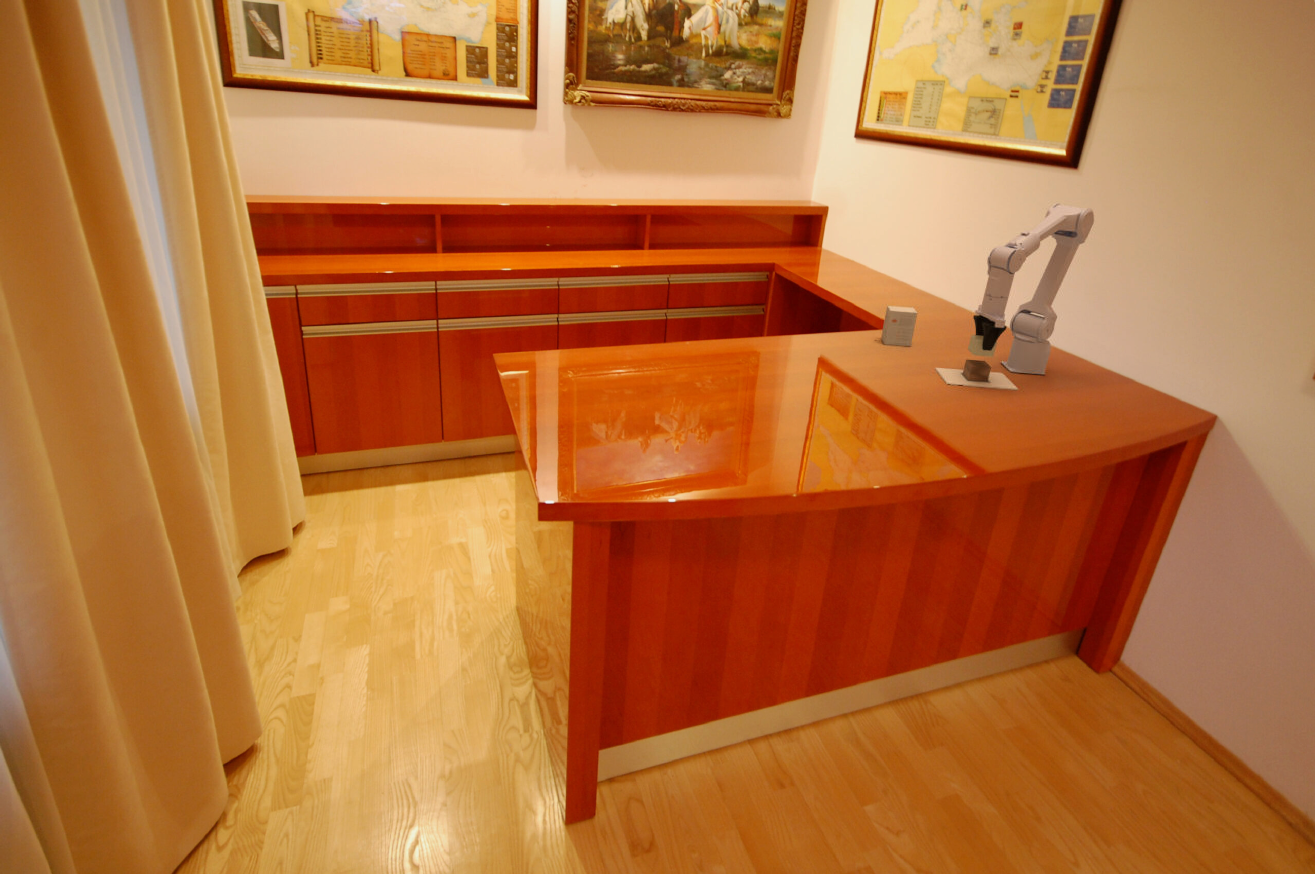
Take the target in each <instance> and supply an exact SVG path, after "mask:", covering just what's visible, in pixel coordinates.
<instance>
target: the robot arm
mask: <svg viewBox="0 0 1315 874" xmlns="http://www.w3.org/2000/svg"><path fill="white" fill-rule="evenodd" d="M1094 224H1095V215H1094V210H1093V209H1091V208H1089V207H1088V208H1083V207H1079V206H1072V205H1066V204H1062V203H1054V204H1053V205H1052V206H1051V207H1050V208H1048V209H1047V212H1046V214H1045V217H1044V218H1043V219H1042V220H1041V222H1040V223H1038V224H1037V225H1036V226H1035V227H1033V228H1032V230H1023V231H1021V232H1020V234H1018V235H1017V236H1015V237H1013V239H1011V240H1010V241H1009V242H1007V243H1006V244H1005V245H998V246H996V247H994V248H993V249H992V250H991V251H990V253H989V255H988V256H987V261H986V262H987V275H988V277H987V282H986V286H985V290H984V294H983V298H982V302H981V304H979V305H978V308H977V309H976V310H974V313H975V315H973V321H974V325H975V326H974V327H975V335H979V336H983V344H982V349H983V350H988V351H991V350H992V348H993V347H994V345H995V343H996V342H998V340H999V338H1000V336H1001V335H1002V334H1003V333H1004V332H1005V331H1007V327H1008V326H1006V321H1007V320H1006V319H1005V316H1006V313H1005V311H1006V308H1007V304H1008V302H1009V301H1008V300H1009V297H1010V292H1011V289H1012V285H1013V282H1014V277H1015V274H1016V273H1018V272H1019V271H1020V269H1021V268H1022V267H1023V264H1024V263H1025V261H1026V260H1027V258H1029V256H1031V255H1032V254H1034V252H1036V251H1037V250H1039V249H1040V246H1041V242H1042V241H1044V240H1045V239H1048V238H1049V237H1052V238H1053V239H1054V240H1055V243H1056V244H1055V248H1054V249H1053V252H1052V254H1051V256H1050V258H1049V260H1048V263H1047V265H1046V268H1045V269H1044V272H1043V275H1041V278H1040V281H1039V283H1038V285H1037V287H1036V290H1035V291H1034V294H1033V296H1032V298H1031V300H1030V301H1027V302H1025V303H1022V304H1019V306H1018V309H1017V310H1016V312H1014V314H1013V316H1012V317H1011V318H1010V322H1009V329H1010V331H1011V336H1013V340H1012V342H1011V347H1010V351H1009V352H1008V353H1009V354H1008V357H1007V361H1004V360H1003V361H1001V364H1002V365H1003V366H1004V367H1005V368H1006V369H1007V370H1008V371H1009V372H1010V373H1018V374H1019V373H1021V374H1033V375H1043V376H1044V375H1046V372H1045V371H1046V368H1047V365H1048V361H1049V358H1050V355H1051V351H1052V350H1051V348H1052V346H1051V342H1050V341H1049V340H1048V339H1049V338H1051V336H1052V335H1053V333H1054V330H1055V325H1056V321H1057V319H1058V315H1057V313H1056V312H1055V311H1054V309H1053V307H1052V305H1053V302H1054V301H1055V299H1056V297H1057V294H1058V292H1059V290H1060V288H1061V286H1062V283H1063V281H1064V278H1065V277H1066V275H1067V272H1068V270H1069V268H1070V266H1071V264H1072V262H1073V260H1074V257H1075V256H1076V253H1077V250H1078V249H1079V246H1080V245H1083V244H1084V243H1086V240H1087V238H1088V236H1089V235H1090V233H1091V230H1092V228H1093V225H1094Z"/></svg>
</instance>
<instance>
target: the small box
mask: <svg viewBox="0 0 1315 874" xmlns="http://www.w3.org/2000/svg"><path fill="white" fill-rule="evenodd" d="M917 317H918V312H917V310H916V309H915V307H907V306H897V305H896V306H895V305H894V306H893V305H887V306H886V311H885V315H884V320H883V327H882V330H881V331H882V333H881V338H880V340H881V341H882V342H883V345H887V346H899V347H911V346H912V341H913V338H914V332H915V327H916V322H917Z"/></svg>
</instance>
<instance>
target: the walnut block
mask: <svg viewBox="0 0 1315 874" xmlns="http://www.w3.org/2000/svg"><path fill="white" fill-rule="evenodd" d="M991 369H992V366H991V365H990V364H989V363H988V362H987V361H986V360H980V359H978V360H977V359H965V363H964V366H963V369H962V370H963V375H964V376H965V377H966V378H967V379H968V380H974V381H987V382H988V378H989V374H990V372H991Z"/></svg>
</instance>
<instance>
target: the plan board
mask: <svg viewBox="0 0 1315 874" xmlns="http://www.w3.org/2000/svg"><path fill="white" fill-rule="evenodd" d="M934 370H935V371H936V373H938V375H939V376H940V378H941V379H942V380H943V382H944V383H945V382H946V383H945V384H946V385H947V384H950V385H949V386H958V385H963V386H962V387H972V388H973V387H974V388H984V389H985V388H986V389H995V390H996V389H998V390H1009V391H1018V390H1019V388H1018V387H1017V386H1016V385H1015V384H1014V383H1013V382H1012V381H1011V380H1010V379H1009V378H1008V377H1007V376H1006V375H1005V374H1004V373H1003V372H994V371H993V372H992V371H990V374H989V378H988V382H987V381H974V380H968V379H967V378H966V377H965V376H964V375H963V370H964V369H956V368H943V367H942V368H941V367H935V368H934Z"/></svg>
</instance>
